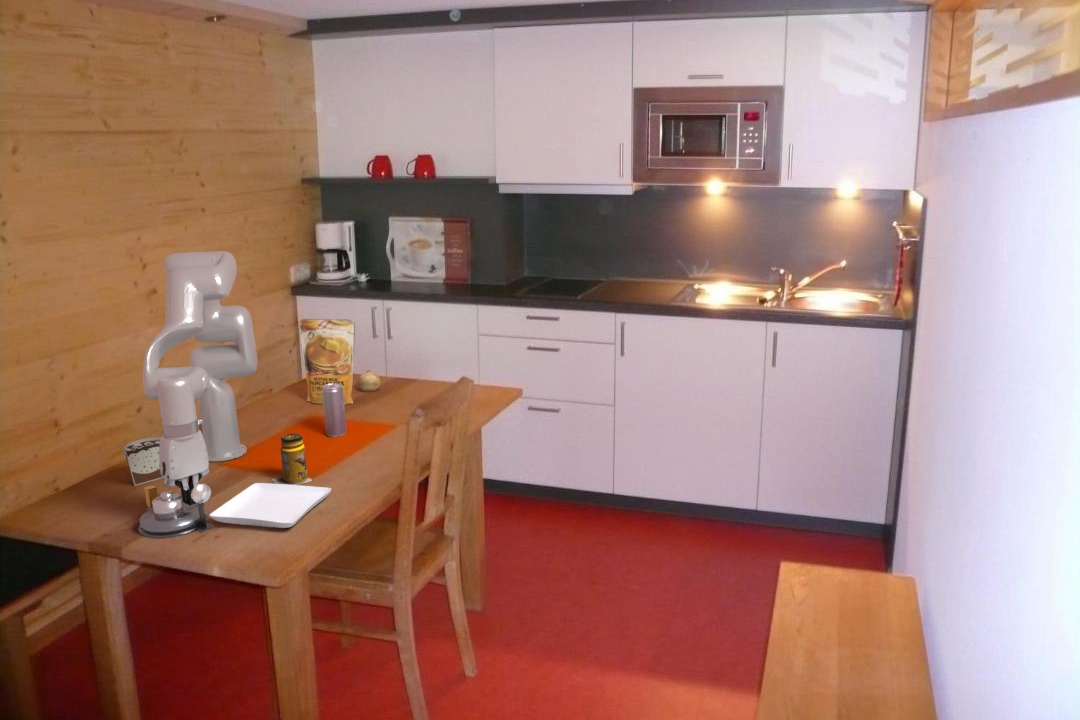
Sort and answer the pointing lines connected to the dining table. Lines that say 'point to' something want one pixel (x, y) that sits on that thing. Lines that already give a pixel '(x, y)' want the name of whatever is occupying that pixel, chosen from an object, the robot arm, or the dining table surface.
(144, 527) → the turntable
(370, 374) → the onion
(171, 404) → the robot arm
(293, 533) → the dining table surface
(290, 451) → the condiment
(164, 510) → the cover
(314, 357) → the pancake mix bag
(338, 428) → the beverage can
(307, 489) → the salad plate
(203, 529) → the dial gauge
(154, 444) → the food container
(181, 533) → the turntable base
